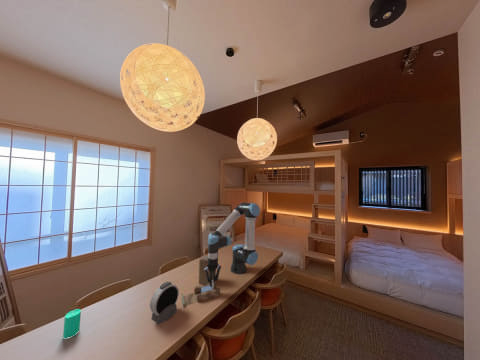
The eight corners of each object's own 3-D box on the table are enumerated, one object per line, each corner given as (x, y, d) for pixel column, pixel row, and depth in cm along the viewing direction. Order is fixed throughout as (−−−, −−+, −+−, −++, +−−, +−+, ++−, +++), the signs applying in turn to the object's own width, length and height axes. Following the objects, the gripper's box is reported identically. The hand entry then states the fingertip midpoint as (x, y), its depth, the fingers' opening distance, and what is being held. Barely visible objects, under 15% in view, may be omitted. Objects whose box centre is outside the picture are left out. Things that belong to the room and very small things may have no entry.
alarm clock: (156, 327, 88) (158, 293, 90) (146, 319, 94) (148, 287, 95) (181, 309, 102) (182, 279, 103) (171, 303, 107) (172, 275, 109)
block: (210, 290, 120) (210, 285, 121) (212, 295, 115) (212, 289, 115) (200, 293, 117) (200, 287, 118) (202, 298, 112) (202, 292, 112)
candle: (70, 329, 87) (72, 306, 87) (82, 329, 87) (84, 305, 88) (59, 340, 81) (61, 314, 81) (72, 339, 81) (74, 314, 82)
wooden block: (209, 286, 127) (210, 260, 129) (198, 284, 129) (198, 259, 131) (214, 279, 137) (214, 255, 139) (203, 278, 139) (203, 254, 141)
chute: (215, 288, 125) (215, 281, 125) (219, 296, 115) (220, 289, 115) (181, 297, 114) (181, 290, 114) (183, 307, 104) (183, 299, 104)
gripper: (219, 254, 126) (219, 285, 124) (203, 257, 120) (202, 290, 119) (222, 257, 119) (222, 291, 118) (205, 261, 114) (204, 296, 112)
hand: (212, 290), depth 118 cm, fingers closed
